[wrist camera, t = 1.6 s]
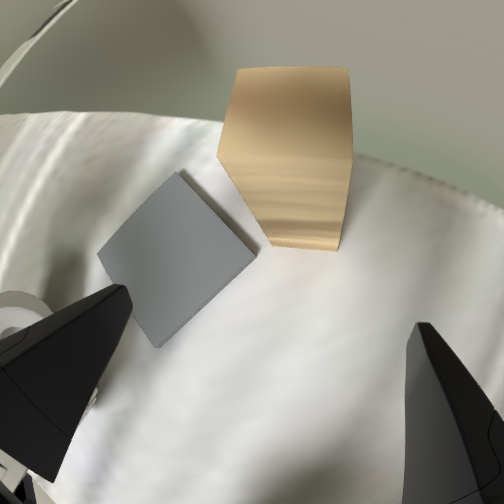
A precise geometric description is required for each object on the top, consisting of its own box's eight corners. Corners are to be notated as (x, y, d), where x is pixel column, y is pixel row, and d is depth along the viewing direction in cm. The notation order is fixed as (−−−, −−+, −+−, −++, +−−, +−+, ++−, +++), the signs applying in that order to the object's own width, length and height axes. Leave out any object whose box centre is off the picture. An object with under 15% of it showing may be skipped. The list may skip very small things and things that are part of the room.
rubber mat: (159, 347, 23) (154, 347, 22) (101, 255, 27) (96, 253, 26) (256, 257, 23) (254, 254, 22) (179, 175, 27) (175, 171, 26)
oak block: (337, 251, 22) (353, 159, 9) (272, 246, 23) (216, 155, 11) (340, 191, 23) (348, 67, 11) (279, 187, 24) (238, 69, 12)
